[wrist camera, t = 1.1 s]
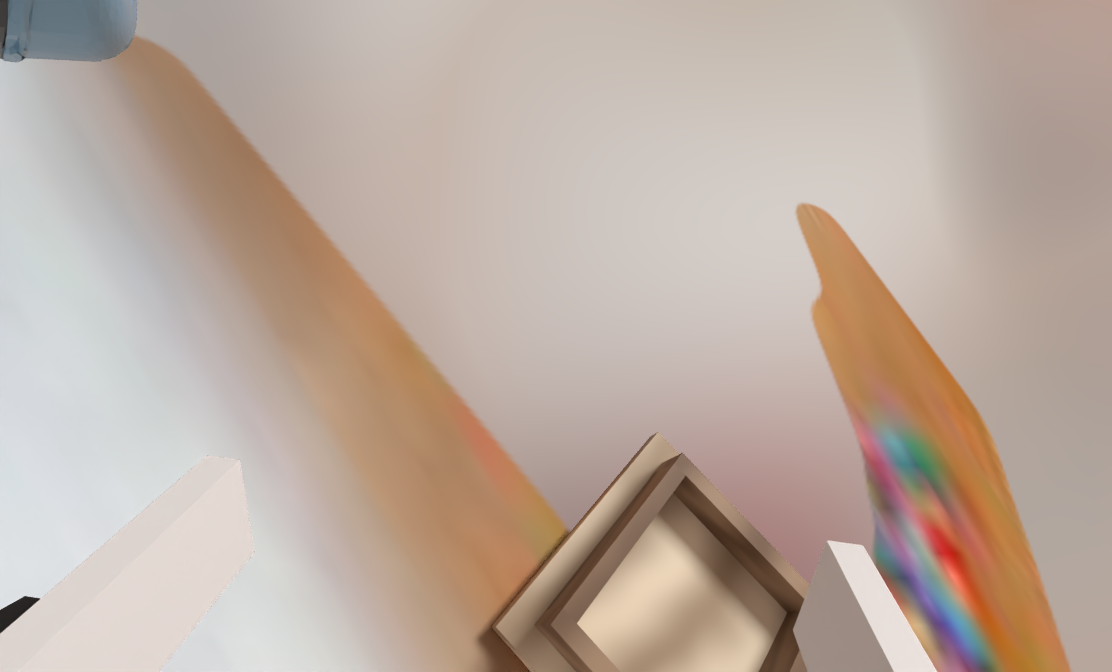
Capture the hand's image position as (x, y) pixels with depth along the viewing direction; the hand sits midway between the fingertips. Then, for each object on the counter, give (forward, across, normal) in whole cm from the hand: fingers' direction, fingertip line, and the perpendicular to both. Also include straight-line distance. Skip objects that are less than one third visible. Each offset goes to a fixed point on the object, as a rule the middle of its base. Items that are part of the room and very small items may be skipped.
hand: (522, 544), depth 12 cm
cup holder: (+15, +8, -18) cm, 25 cm away
